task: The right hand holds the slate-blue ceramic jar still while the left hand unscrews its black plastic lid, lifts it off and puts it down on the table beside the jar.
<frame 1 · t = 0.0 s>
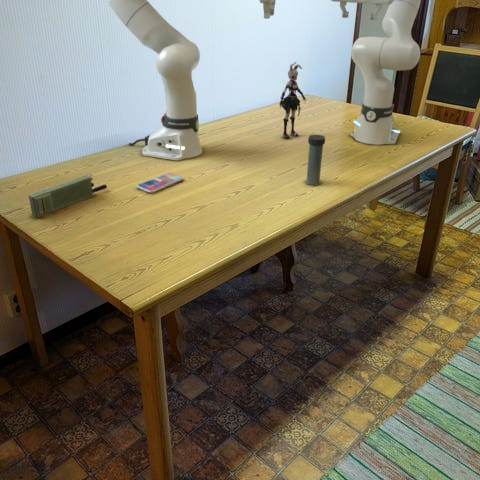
left hand: (268, 16, 163), 48 cm above the table, tool pointing down, fingers open, 8 cm apart
right hand: (358, 18, 161), 48 cm above the table, tool pointing down, fingers open, 8 cm apart
handheld radio: (72, 203, 151), on the table
smartphone: (160, 184, 164), on the table
jar: (312, 182, 167), on the table
lid: (316, 138, 160), point 15 cm above the table, screwed on, not yet turned
figurine: (288, 136, 209), on the table
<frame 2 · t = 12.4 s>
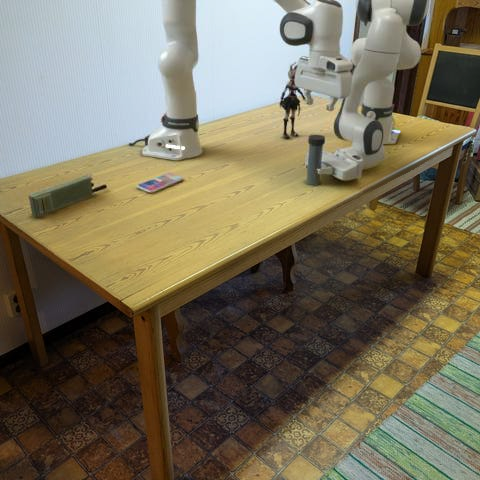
left hand: (319, 107, 155), 25 cm above the table, tool pointing down, fingers open, 7 cm apart
right hand: (312, 168, 164), 5 cm above the table, tool horizontal, fingers closed on jar, 4 cm apart
jar: (312, 182, 167), on the table, touching right hand
everything else where it was.
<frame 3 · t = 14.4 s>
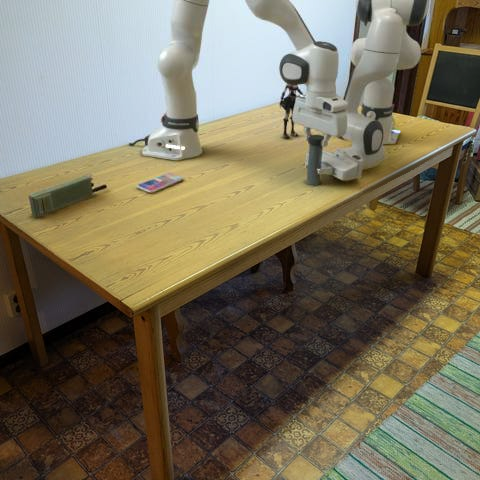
left hand: (316, 143, 160), 13 cm above the table, tool pointing down, fingers closed on lid, 5 cm apart
right hand: (312, 168, 164), 5 cm above the table, tool horizontal, fingers closed on jar, 4 cm apart
jar: (312, 182, 167), on the table, touching right hand
lid: (316, 138, 160), point 15 cm above the table, screwed on, not yet turned, touching left hand
everything else where it was.
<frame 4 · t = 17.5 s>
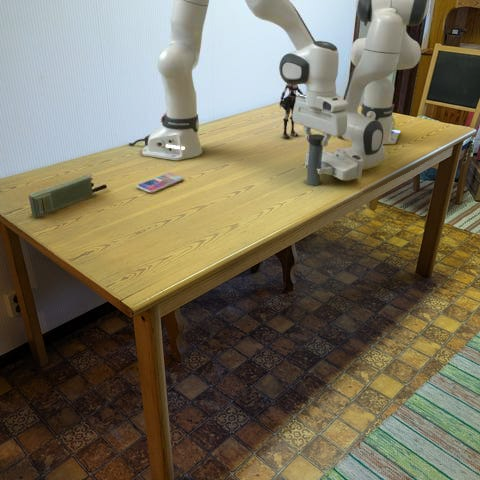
left hand: (316, 143, 160), 14 cm above the table, tool pointing down, fingers closed on lid, 5 cm apart
right hand: (312, 168, 164), 5 cm above the table, tool horizontal, fingers closed on jar, 4 cm apart
jar: (312, 182, 167), on the table, touching right hand
lid: (316, 137, 159), point 15 cm above the table, turned 79° so far, risen 0.1 cm, still on its thread, touching left hand
everything else where it was.
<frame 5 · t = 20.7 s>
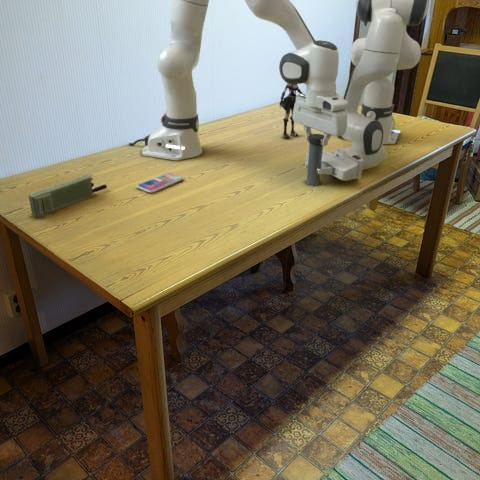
left hand: (316, 142, 160), 14 cm above the table, tool pointing down, fingers closed on lid, 5 cm apart
right hand: (312, 168, 164), 5 cm above the table, tool horizontal, fingers closed on jar, 4 cm apart
jar: (312, 182, 167), on the table, touching right hand
lid: (316, 137, 159), point 15 cm above the table, turned 159° so far, risen 0.3 cm, still on its thread, touching left hand
everything else where it was.
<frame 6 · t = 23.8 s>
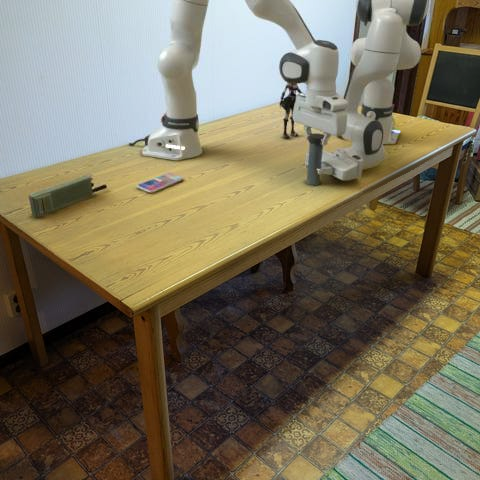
left hand: (316, 142, 160), 14 cm above the table, tool pointing down, fingers closed on lid, 5 cm apart
right hand: (312, 168, 164), 5 cm above the table, tool horizontal, fingers closed on jar, 4 cm apart
jar: (312, 182, 167), on the table, touching right hand
lid: (317, 136, 159), point 16 cm above the table, turned 238° so far, risen 0.4 cm, still on its thread, touching left hand
everything else where it was.
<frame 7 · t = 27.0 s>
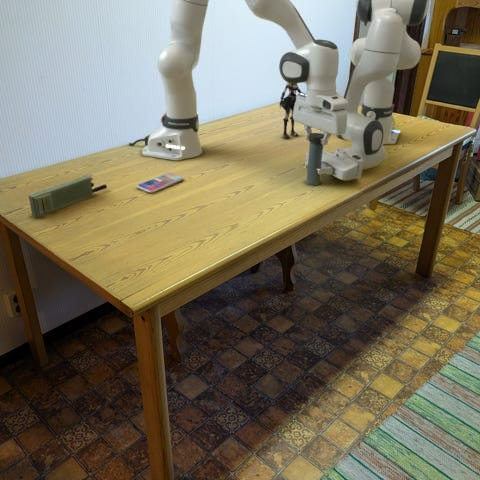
left hand: (316, 141, 160), 14 cm above the table, tool pointing down, fingers closed on lid, 5 cm apart
right hand: (312, 168, 164), 5 cm above the table, tool horizontal, fingers closed on jar, 4 cm apart
jar: (312, 182, 167), on the table, touching right hand
lid: (317, 136, 159), point 16 cm above the table, turned 318° so far, risen 0.5 cm, still on its thread, touching left hand
everything else where it was.
when the left hand's fingers open (2 cm above the table, at t = 36.2 s): lid drops 2 cm, point 2 cm above the table.
when the right hand's fingers open (5 cm above the table, at t = 37.3 s): jar stays where it is, on the table.
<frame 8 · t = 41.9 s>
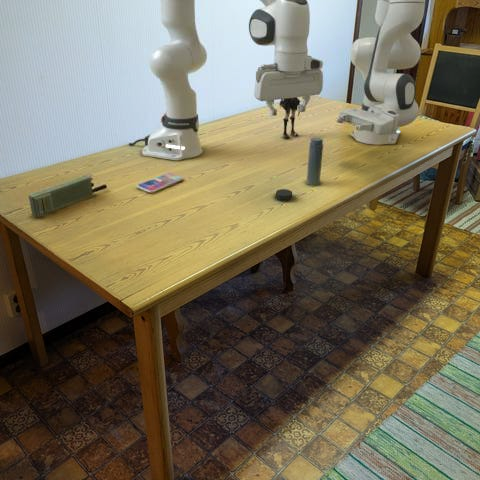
left hand: (287, 113, 143), 26 cm above the table, tool pointing down, fingers open, 8 cm apart
right hand: (347, 123, 164), 18 cm above the table, tool horizontal, fingers open, 8 cm apart
jar: (313, 183, 167), on the table
lid: (284, 193, 155), point 2 cm above the table, off its thread
everything else where it was.
at the end: lid came off its thread; lid point 1.6 cm above the table; the left hand is holding nothing; the right hand is holding nothing; jar tilted 0°; jar moved 0.2 cm from its start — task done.
